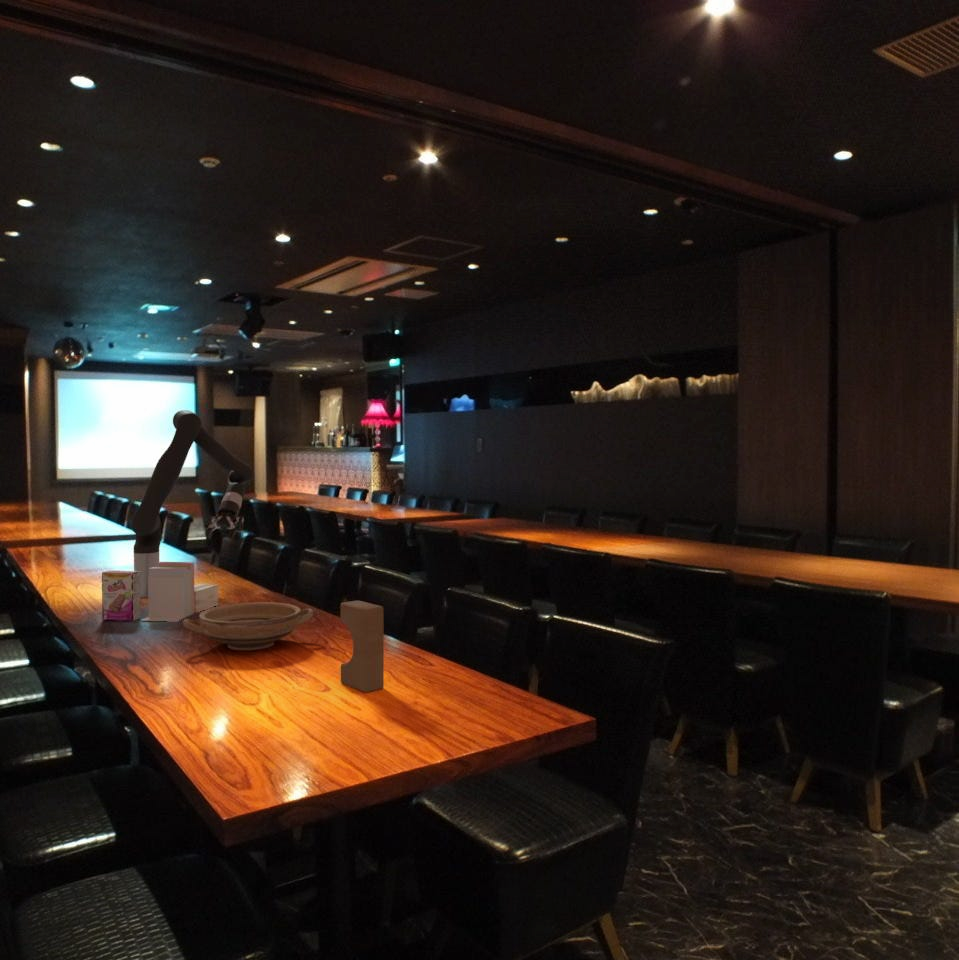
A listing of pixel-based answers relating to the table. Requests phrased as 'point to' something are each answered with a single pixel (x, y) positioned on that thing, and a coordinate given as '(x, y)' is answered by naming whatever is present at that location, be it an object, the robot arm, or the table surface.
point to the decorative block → (364, 646)
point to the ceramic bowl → (249, 623)
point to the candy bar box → (121, 595)
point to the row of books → (170, 591)
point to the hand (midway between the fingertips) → (219, 537)
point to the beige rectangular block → (205, 596)
